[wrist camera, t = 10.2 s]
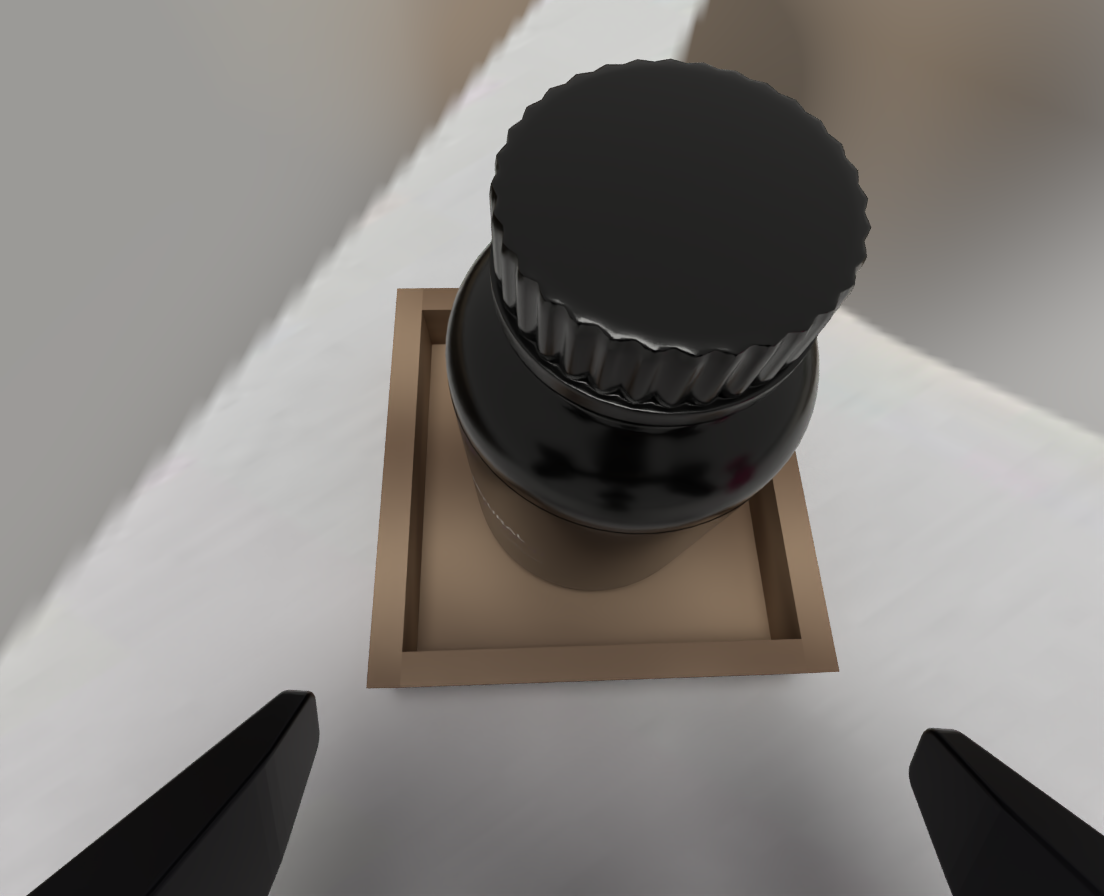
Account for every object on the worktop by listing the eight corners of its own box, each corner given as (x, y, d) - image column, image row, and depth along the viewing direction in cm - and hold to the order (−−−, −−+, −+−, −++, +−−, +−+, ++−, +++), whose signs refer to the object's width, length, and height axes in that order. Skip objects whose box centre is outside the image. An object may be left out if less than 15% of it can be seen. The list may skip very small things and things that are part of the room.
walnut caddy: (790, 673, 17) (839, 671, 15) (393, 687, 17) (366, 688, 14) (732, 336, 22) (762, 285, 19) (415, 340, 21) (397, 288, 19)
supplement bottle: (437, 533, 18) (277, 275, 7) (539, 356, 20) (548, -54, 9) (649, 639, 17) (880, 546, 6) (730, 441, 19) (1004, 99, 8)
